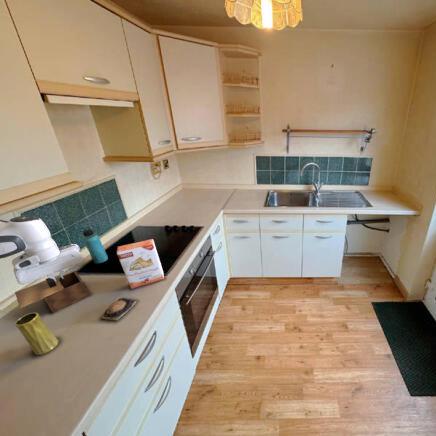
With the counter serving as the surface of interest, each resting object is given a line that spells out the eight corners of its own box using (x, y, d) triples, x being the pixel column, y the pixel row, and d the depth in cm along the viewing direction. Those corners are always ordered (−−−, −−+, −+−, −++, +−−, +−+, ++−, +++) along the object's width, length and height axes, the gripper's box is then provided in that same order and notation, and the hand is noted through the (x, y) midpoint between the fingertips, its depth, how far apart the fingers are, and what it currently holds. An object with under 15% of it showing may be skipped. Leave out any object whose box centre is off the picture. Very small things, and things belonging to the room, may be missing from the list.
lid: (20, 308, 86) (15, 301, 85) (15, 293, 93) (11, 287, 92) (64, 289, 95) (60, 283, 94) (57, 277, 102) (53, 271, 101)
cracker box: (131, 290, 106) (115, 252, 97) (131, 282, 111) (117, 246, 102) (164, 279, 112) (152, 243, 103) (164, 272, 117) (152, 237, 108)
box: (53, 313, 94) (43, 298, 91) (46, 299, 101) (37, 285, 98) (90, 295, 103) (83, 281, 100) (82, 283, 110) (75, 270, 107)
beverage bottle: (111, 257, 129) (97, 226, 121) (106, 264, 124) (92, 232, 115) (97, 260, 127) (83, 228, 119) (92, 267, 122) (76, 234, 113)
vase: (50, 353, 78) (29, 325, 72) (29, 356, 78) (6, 327, 71) (63, 338, 84) (44, 310, 78) (44, 340, 83) (23, 312, 77)
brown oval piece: (117, 322, 90) (114, 315, 88) (99, 318, 92) (96, 312, 90) (138, 301, 100) (136, 295, 98) (122, 299, 101) (119, 292, 99)
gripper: (74, 240, 101) (87, 265, 107) (5, 262, 87) (24, 290, 93) (78, 244, 98) (91, 270, 104) (7, 268, 83) (27, 296, 89)
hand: (59, 279), depth 98 cm, fingers closed
